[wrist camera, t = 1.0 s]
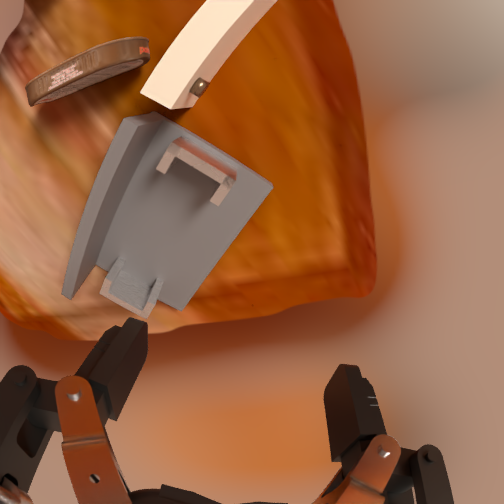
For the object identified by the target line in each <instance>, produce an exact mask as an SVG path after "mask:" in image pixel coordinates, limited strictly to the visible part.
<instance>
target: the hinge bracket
mask: <svg viewBox="0 0 504 504" xmlns="http://www.w3.org/2000/svg"><path fill="white" fill-rule="evenodd" d="M272 189H273V185H272V183H271V182H269V181H268V180H266V179H265V178H263V177H262V176H260V175H259V174H257V173H256V172H254V171H253V170H251V169H250V168H248V167H247V166H245V165H243V164H242V163H240V162H239V161H237V160H236V159H234V158H233V157H231V156H229V155H228V154H226V153H225V152H223V151H221V150H220V149H218V148H217V147H215V146H213V145H212V144H210V143H209V142H207V141H205V140H204V139H202V138H200V137H199V136H197V135H195V134H194V133H192V132H190V131H189V130H187V129H185V128H183V127H182V126H180V125H178V124H177V123H175V122H173V121H171V120H170V119H168V118H166V117H164V116H162V115H161V114H159V113H157V112H155V111H154V112H151V113H149V114H143V115H138V116H132V117H127V118H124V119H123V121H122V123H121V125H120V127H119V129H118V131H117V133H116V135H115V137H114V139H113V141H112V143H111V145H110V147H109V149H108V152H107V154H106V156H105V158H104V161H103V163H102V165H101V167H100V170H99V172H98V175H97V177H96V180H95V182H94V185H93V187H92V190H91V192H90V195H89V198H88V201H87V203H86V206H85V209H84V212H83V215H82V218H81V221H80V224H79V227H78V230H77V234H76V237H75V240H74V244H73V247H72V251H71V255H70V259H69V262H68V266H67V270H66V275H65V279H64V284H63V288H62V293H61V294H62V295H64V296H65V297H67V298H68V299H70V300H72V298H73V297H74V295H75V293H76V292H77V290H78V289H79V288H80V286H81V285H82V283H83V282H84V280H85V279H86V277H87V276H88V275H89V273H90V272H91V270H92V269H93V268H94V266H95V265H97V266H99V267H101V268H102V269H104V270H106V271H107V272H109V273H108V274H107V276H106V277H105V280H104V282H103V285H102V288H101V290H100V293H99V294H101V295H103V296H104V297H106V298H108V299H110V300H111V301H113V302H115V303H117V304H119V305H120V306H122V307H124V308H126V309H128V310H130V311H131V312H133V313H135V314H137V315H139V316H141V317H143V318H145V319H147V318H148V316H149V314H150V313H151V311H152V309H153V308H154V306H155V304H156V301H157V299H158V300H160V301H162V302H164V303H166V304H168V305H170V306H171V307H173V308H175V309H177V310H179V311H182V310H183V309H184V307H185V306H186V304H187V303H188V302H189V300H190V299H191V298H192V296H193V295H194V293H195V292H196V291H197V289H198V288H199V286H200V285H201V284H202V282H203V281H204V280H205V278H206V277H207V275H208V274H209V273H210V271H211V270H212V269H213V267H214V266H215V265H216V263H217V262H218V260H219V259H220V258H221V256H222V255H223V254H224V252H225V251H226V250H227V248H228V247H229V246H230V244H231V243H232V242H233V240H234V239H235V238H236V236H237V235H238V234H239V232H240V231H241V230H242V228H243V227H244V225H245V224H246V223H247V221H248V220H249V219H250V218H251V216H252V215H253V214H254V212H255V211H256V210H257V208H258V207H259V206H260V204H261V203H262V202H263V200H264V199H265V198H266V196H267V195H268V194H269V192H270V191H271V190H272Z"/></svg>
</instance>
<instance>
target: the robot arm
mask: <svg viewBox="0 0 504 504" xmlns="http://www.w3.org/2000/svg"><path fill="white" fill-rule="evenodd" d="M147 352H148V325H147V322H144V321H140V320H137V319H134V318H131V317H129V318H128V319H127V321H126V322H125V323H124V325H123V326H122V327H119V326H116V325H115V326H113V327H112V328H110V329H108V330H107V331H105V333H104V334H103V335H102V337H101V338H100V339H99V342H97V344H96V345H95V346H94V349H92V351H91V352H90V353H89V355H88V356H87V358H86V359H85V361H84V362H83V364H82V365H81V366H80V368H79V369H78V371H77V372H76V374H75V375H73V376H66V377H64V378H62V379H61V380H60V381H51V380H46V379H41V378H37V377H36V374H35V373H34V371H33V370H32V369H31V368H29V367H27V366H24V365H19V366H15V367H13V368H11V369H10V370H9V371H8V372H7V374H6V375H5V377H4V378H3V379H2V381H1V382H0V504H33V501H32V499H31V498H30V497H29V495H28V494H27V493H28V490H29V487H30V485H31V482H32V480H33V477H34V475H35V472H36V470H37V467H38V465H39V463H40V460H41V458H42V456H43V453H44V451H45V449H46V447H47V445H48V442H49V440H50V438H51V436H52V434H53V432H54V431H58V432H62V434H63V442H62V451H63V455H64V459H65V463H66V466H67V470H68V473H69V477H70V480H71V483H72V486H73V489H74V492H75V495H76V498H77V500H78V503H79V504H221V503H218V502H216V501H213V500H211V499H208V498H206V497H204V496H201V495H199V494H196V493H194V492H191V491H187V490H183V489H179V488H175V487H171V486H167V485H164V484H162V485H161V489H142V490H137V491H133V492H131V491H130V489H129V487H128V485H127V483H126V480H125V478H124V476H123V474H122V472H121V470H120V467H119V465H118V463H117V460H116V457H115V455H114V452H113V449H112V447H111V444H110V441H109V438H108V435H107V432H106V429H105V424H106V422H107V420H108V418H110V419H112V420H115V421H117V419H118V417H119V415H120V413H121V410H122V408H123V406H124V404H125V402H126V400H127V398H128V396H129V393H130V391H131V389H132V387H133V385H134V383H135V381H136V379H137V377H138V375H139V373H140V371H141V369H142V367H143V365H144V363H145V360H146V357H147ZM324 405H325V412H326V419H327V427H328V435H329V443H330V451H331V460H332V462H341V463H342V467H341V468H340V469H339V470H338V472H337V473H336V475H335V476H334V477H333V479H332V480H331V481H330V483H329V484H328V485H327V487H326V488H325V489H324V490H323V492H322V493H321V494H320V495H319V497H318V498H317V499H316V500H315V501H314V502H313V503H312V504H414V498H413V492H412V487H414V489H415V494H416V501H417V504H454V501H453V496H452V492H451V487H450V483H449V479H448V475H447V471H446V467H445V464H444V460H443V456H442V454H441V452H440V450H439V449H438V448H437V447H435V446H433V445H424V446H422V447H421V448H420V449H418V450H417V451H415V450H410V449H406V448H401V447H400V445H399V443H398V442H397V441H396V440H395V439H394V438H393V437H391V436H389V435H387V433H386V429H385V426H384V422H383V419H382V415H381V412H380V409H379V406H378V402H377V399H376V395H375V392H374V389H373V387H372V385H371V384H370V383H369V381H368V380H367V379H366V378H362V376H361V372H360V369H359V367H358V366H357V365H347V364H340V365H339V366H338V368H337V369H336V371H335V373H334V374H333V376H332V378H331V379H330V381H329V383H328V384H327V386H326V388H325V391H324ZM242 504H288V503H268V502H253V503H242Z"/></svg>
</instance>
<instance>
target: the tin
mask: <svg viewBox="0 0 504 504" xmlns="http://www.w3.org/2000/svg"><path fill="white" fill-rule="evenodd" d="M148 42H149V40H148V39H147V38H145V37H127V38H122V39H117V40H113V41H109V42H106V43H103V44H100V45H97V46H95V47H92V48H90V49H88V50H86V51H84V52H81V53H79V54H77V55H75V56H73V57H71V58H69V59H67V60H65V61H64V62H62V63H60V64H58V65H56V66H54V67H52V68H51V69H49V70H47V71H45V72H44V73H42V74H40V75H38V76H37V77H35V78H34V79H32V80H31V81H30V82H29V83H27V85H26V86H25V89H26V92H27V97H28V102H29V105H30V106H31V107H32V106H34V105H37V104H41V103H47V102H51V101H54V100H57V99H59V98H62V97H64V96H67V95H69V94H72V93H74V92H76V91H79V90H81V89H83V88H86V87H88V86H91V85H93V84H96V83H98V82H101V81H103V80H106V79H109V78H111V77H114V76H117V75H119V74H122V73H125V72H128V71H130V70H133V69H136V68H138V67H140V66H143V65H144V64H146V63H147V62H149V60H150V53H149V46H148Z"/></svg>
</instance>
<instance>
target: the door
mask: <svg viewBox="0 0 504 504" xmlns="http://www.w3.org/2000/svg"><path fill="white" fill-rule="evenodd" d="M276 2H277V0H207V1H206V2H205V3H204V4H203V5H202V6H201V8H200V9H199V10H198V11H197V12H196V14H195V15H194V16H193V17H192V18H191V20H190V21H189V22H188V23H187V25H186V26H185V27H184V28H183V30H182V31H181V32H180V34H179V35H178V36H177V38H176V39H175V40H174V42H173V43H172V44H171V46H170V47H169V49H168V50H167V51H166V53H165V54H164V56H163V57H162V59H161V60H160V62H159V63H158V65H157V66H156V68H155V69H154V71H153V72H152V74H151V75H150V77H149V79H148V80H147V82H146V83H145V85H144V87H143V88H142V90H141V92H140V93H141V94H143V95H145V96H147V97H149V98H151V99H152V100H154V101H156V102H158V103H160V104H162V105H163V106H165V107H167V108H169V109H179V108H188V107H193V105H194V104H195V102H196V101H197V99H198V98H200V97H201V96H202V95H203V93H204V92H205V91H206V89H207V88H208V86H209V84H210V83H209V82H210V81H211V79H212V78H213V77H214V75H215V74H216V73H217V71H218V70H219V69H220V67H221V66H222V65H223V63H224V62H225V61H226V59H227V58H228V57H229V56H230V54H231V53H232V52H233V51H234V49H235V48H236V47H237V46H238V44H239V43H240V42H241V41H242V39H243V38H244V37H245V36H246V35H247V34H248V32H249V31H250V30H251V29H252V28H253V27H254V25H255V24H256V23H257V22H258V21H259V20H260V19H261V18H262V16H263V15H264V14H265V13H266V12H267V11H268V10H269V9H270V8H271V7H272V6H273V5H274V4H275V3H276Z"/></svg>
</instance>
